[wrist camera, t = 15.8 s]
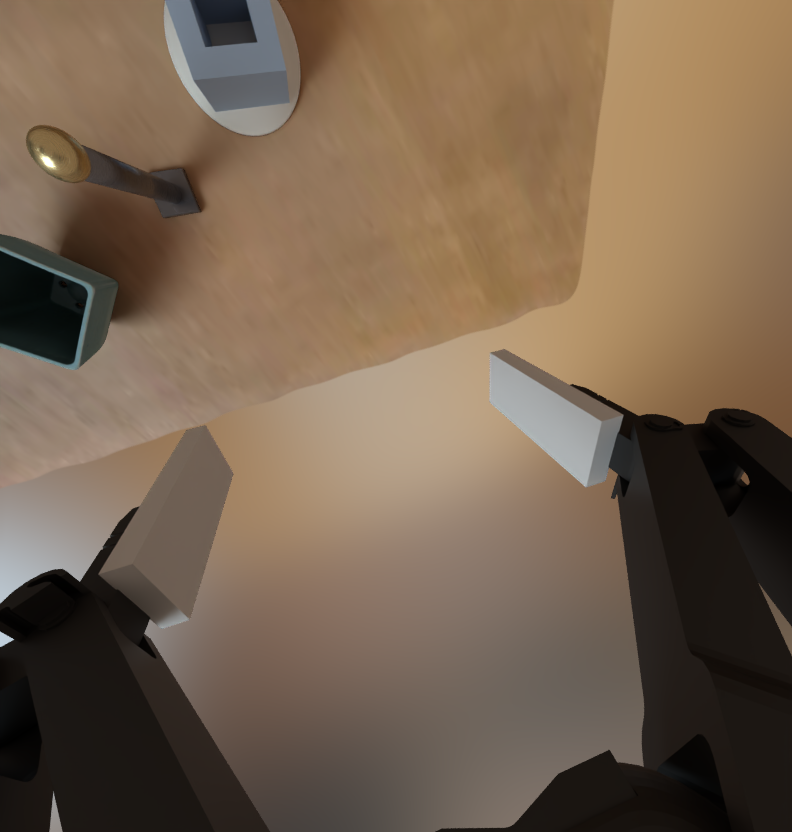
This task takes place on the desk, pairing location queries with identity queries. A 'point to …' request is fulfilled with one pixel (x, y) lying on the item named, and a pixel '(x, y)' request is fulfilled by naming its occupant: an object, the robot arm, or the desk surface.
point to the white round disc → (254, 118)
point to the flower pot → (52, 304)
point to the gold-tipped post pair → (109, 171)
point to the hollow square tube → (232, 53)
